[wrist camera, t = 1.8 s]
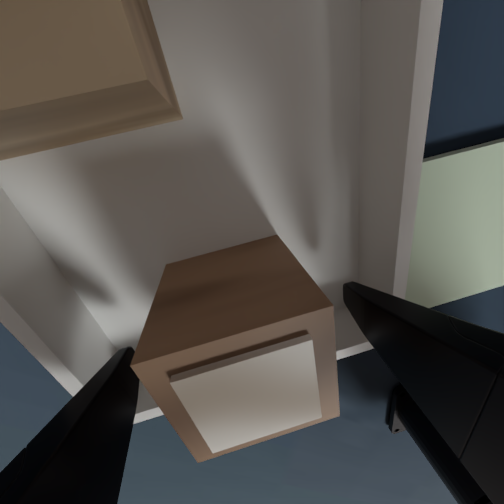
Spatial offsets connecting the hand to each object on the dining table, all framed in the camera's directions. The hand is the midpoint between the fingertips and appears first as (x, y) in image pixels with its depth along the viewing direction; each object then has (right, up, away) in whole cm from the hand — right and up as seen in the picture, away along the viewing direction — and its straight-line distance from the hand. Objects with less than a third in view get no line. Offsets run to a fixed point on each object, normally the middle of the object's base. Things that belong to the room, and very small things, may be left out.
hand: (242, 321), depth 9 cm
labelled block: (0, +1, +2) cm, 2 cm away
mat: (+12, +4, +3) cm, 13 cm away
